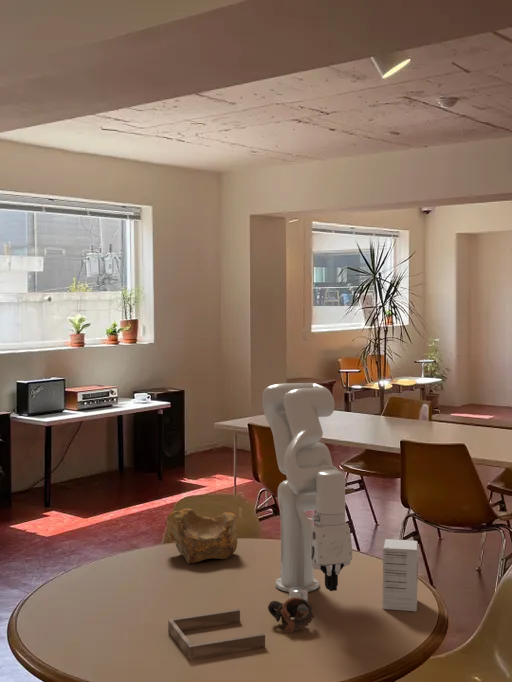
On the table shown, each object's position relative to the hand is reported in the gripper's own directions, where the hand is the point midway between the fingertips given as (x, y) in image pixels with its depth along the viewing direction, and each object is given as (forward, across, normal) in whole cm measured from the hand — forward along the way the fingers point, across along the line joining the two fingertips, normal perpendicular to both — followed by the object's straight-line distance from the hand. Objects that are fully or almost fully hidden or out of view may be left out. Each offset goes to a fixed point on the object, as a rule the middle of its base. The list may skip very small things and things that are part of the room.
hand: (331, 589), depth 218 cm
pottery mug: (+9, -11, +2) cm, 14 cm away
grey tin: (+8, -4, +12) cm, 15 cm away
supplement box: (+9, +23, +4) cm, 25 cm away
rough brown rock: (+7, -15, +63) cm, 65 cm away
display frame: (+9, -31, +1) cm, 32 cm away
